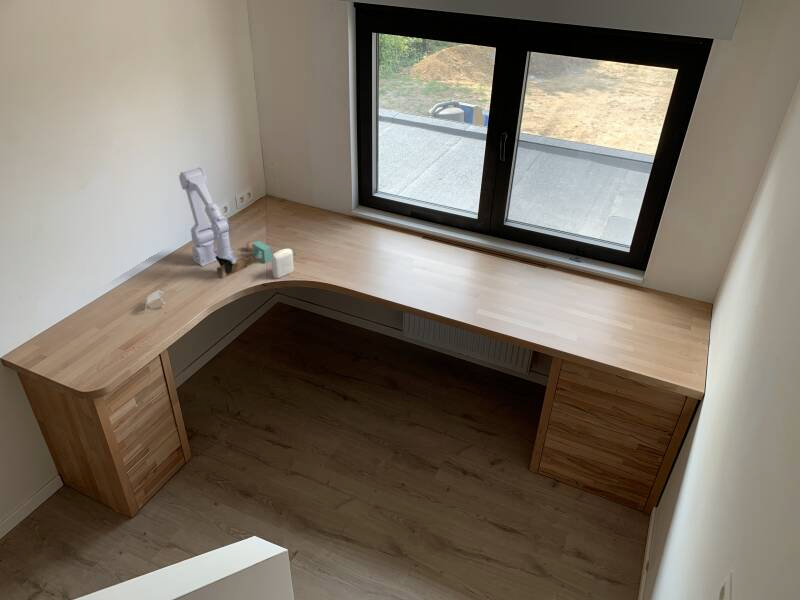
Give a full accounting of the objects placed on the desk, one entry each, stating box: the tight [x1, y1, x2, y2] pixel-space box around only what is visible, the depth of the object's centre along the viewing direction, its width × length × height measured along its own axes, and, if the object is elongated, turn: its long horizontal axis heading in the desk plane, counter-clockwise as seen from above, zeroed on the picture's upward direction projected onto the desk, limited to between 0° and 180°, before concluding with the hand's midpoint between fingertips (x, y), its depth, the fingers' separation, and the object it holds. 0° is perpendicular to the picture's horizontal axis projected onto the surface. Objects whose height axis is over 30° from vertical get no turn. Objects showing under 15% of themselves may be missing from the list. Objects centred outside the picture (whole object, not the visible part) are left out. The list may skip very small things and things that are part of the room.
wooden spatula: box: [216, 255, 254, 279], centre depth 284 cm, size 18×3×4 cm, turn 138°
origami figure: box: [144, 289, 166, 313], centre depth 258 cm, size 12×8×5 cm
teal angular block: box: [252, 240, 273, 264], centre depth 292 cm, size 4×9×7 cm, turn 48°
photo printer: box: [271, 248, 295, 279], centre depth 280 cm, size 10×4×12 cm, turn 135°
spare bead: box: [245, 241, 255, 253], centre depth 299 cm, size 4×4×4 cm
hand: (226, 271), depth 281 cm, fingers closed on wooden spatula, 3 cm apart
